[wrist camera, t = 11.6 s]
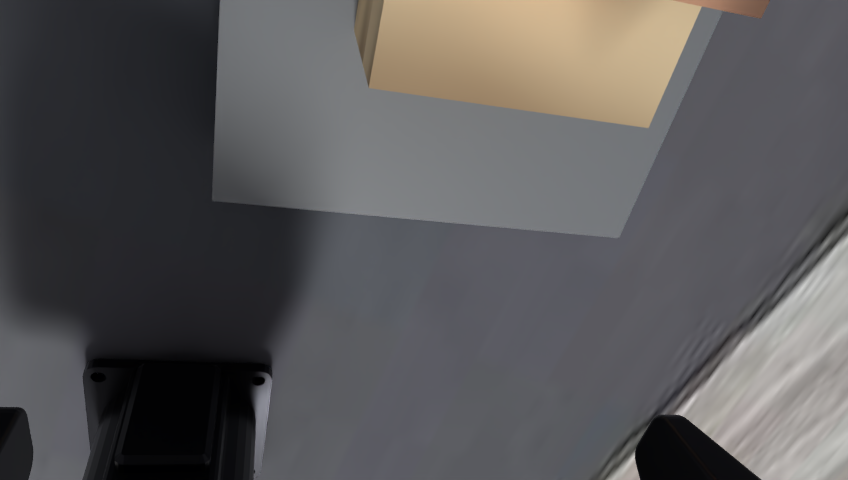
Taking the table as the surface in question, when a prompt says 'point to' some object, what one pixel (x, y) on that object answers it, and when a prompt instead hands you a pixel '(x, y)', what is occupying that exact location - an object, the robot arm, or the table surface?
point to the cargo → (733, 6)
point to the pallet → (528, 53)
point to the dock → (412, 134)
